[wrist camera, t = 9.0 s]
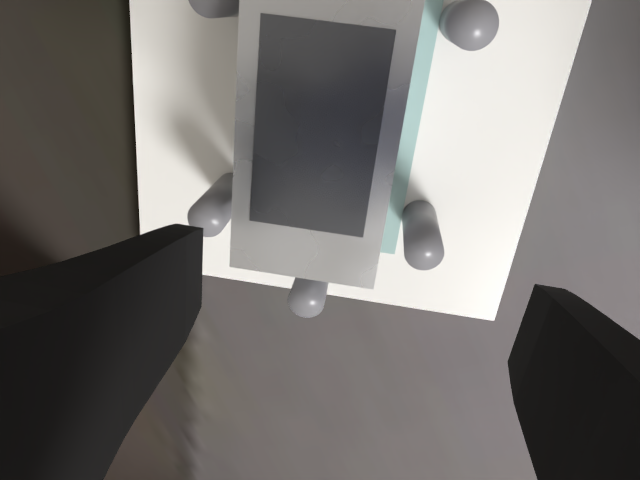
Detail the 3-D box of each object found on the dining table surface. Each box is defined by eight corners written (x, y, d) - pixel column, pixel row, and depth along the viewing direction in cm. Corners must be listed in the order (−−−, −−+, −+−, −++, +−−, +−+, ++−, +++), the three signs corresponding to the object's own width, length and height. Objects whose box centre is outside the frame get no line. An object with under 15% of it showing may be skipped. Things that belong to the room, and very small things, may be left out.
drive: (420, -32, 15) (433, -47, 10) (377, 219, 18) (373, 290, 14) (285, -47, 15) (241, -69, 11) (268, 203, 19) (228, 267, 14)
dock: (612, -109, 15) (686, -147, 11) (489, 306, 21) (510, 371, 17) (137, -158, 15) (60, -208, 12) (152, 253, 21) (103, 304, 18)
